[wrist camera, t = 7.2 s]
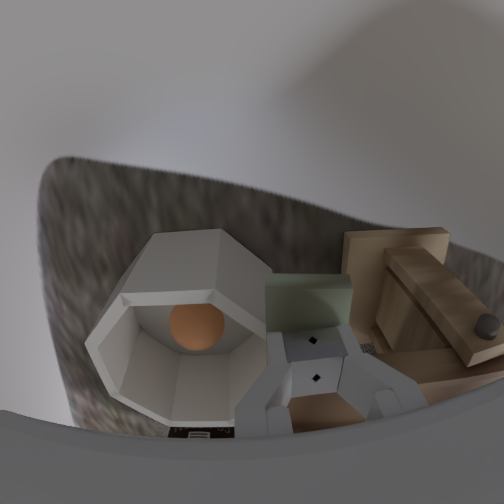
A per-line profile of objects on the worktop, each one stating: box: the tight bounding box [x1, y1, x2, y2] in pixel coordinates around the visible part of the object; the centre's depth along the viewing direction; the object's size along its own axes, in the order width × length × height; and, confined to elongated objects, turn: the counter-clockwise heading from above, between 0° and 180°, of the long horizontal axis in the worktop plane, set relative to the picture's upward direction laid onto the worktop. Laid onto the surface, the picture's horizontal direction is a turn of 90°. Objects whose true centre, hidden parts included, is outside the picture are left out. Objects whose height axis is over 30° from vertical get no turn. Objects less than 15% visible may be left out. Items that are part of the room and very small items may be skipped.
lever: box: [265, 273, 504, 434], centre depth 11 cm, size 20×9×3 cm, turn 93°
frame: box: [341, 227, 504, 367], centre depth 17 cm, size 8×9×12 cm
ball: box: [169, 303, 225, 351], centre depth 19 cm, size 4×4×4 cm
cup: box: [84, 228, 273, 427], centre depth 18 cm, size 10×10×7 cm
